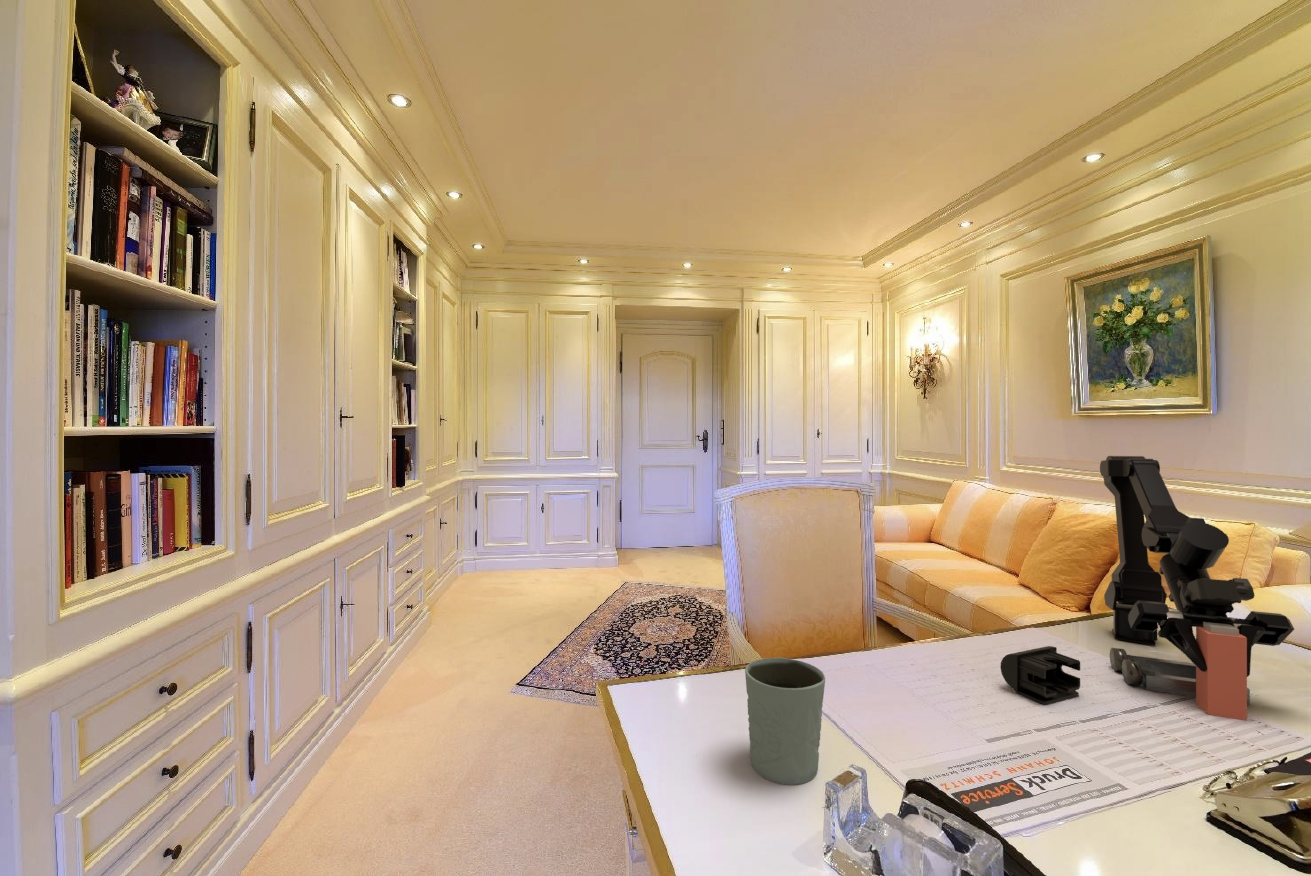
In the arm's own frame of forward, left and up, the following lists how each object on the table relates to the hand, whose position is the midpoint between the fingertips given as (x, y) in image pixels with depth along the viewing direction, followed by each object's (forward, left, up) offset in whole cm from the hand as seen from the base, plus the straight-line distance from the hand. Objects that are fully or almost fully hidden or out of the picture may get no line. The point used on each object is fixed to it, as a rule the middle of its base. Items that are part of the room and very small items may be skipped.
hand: (1225, 673), depth 84 cm
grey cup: (-50, -52, -7) cm, 72 cm away
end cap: (-23, -7, -7) cm, 25 cm away
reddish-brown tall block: (0, +1, -7) cm, 7 cm away
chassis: (-4, +11, -7) cm, 13 cm away
